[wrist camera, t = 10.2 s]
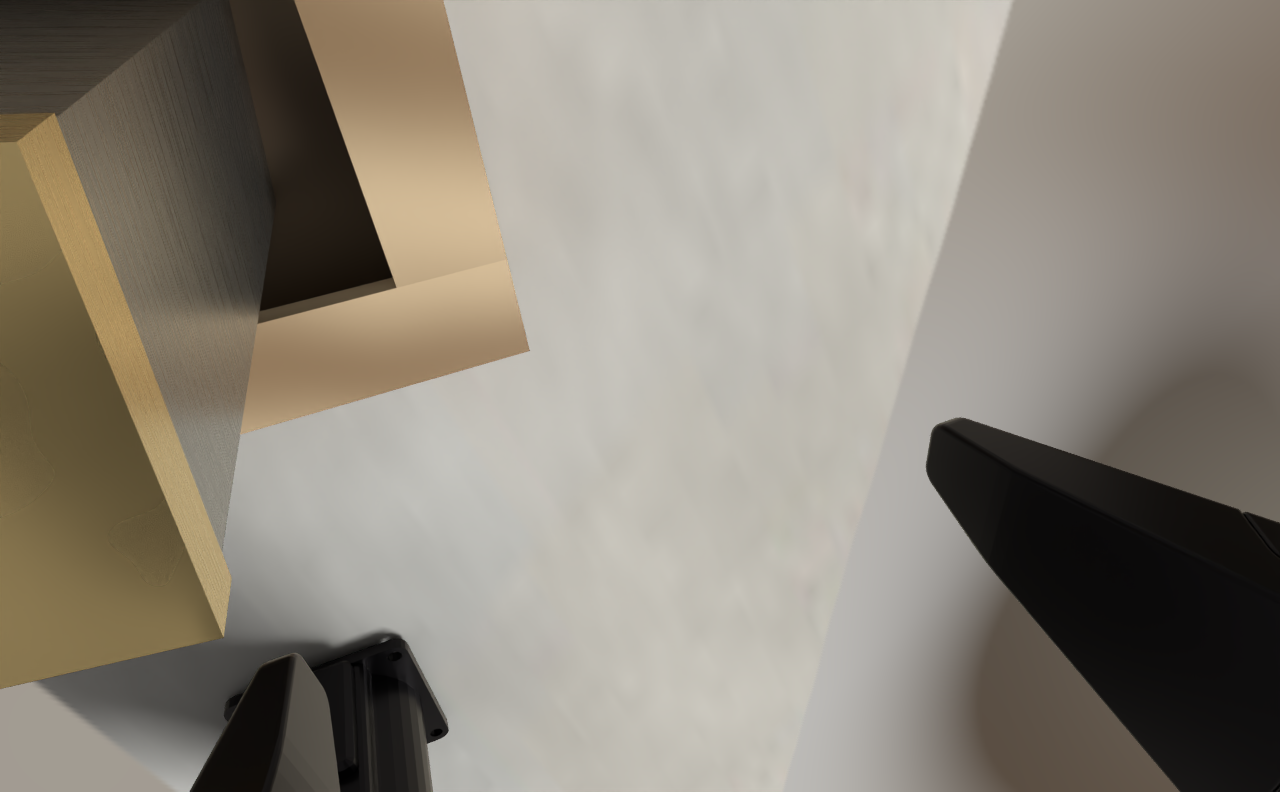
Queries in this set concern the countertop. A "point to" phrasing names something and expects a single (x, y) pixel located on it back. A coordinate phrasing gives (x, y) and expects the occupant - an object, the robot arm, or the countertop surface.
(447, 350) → the caddy
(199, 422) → the tea canister
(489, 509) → the countertop surface
